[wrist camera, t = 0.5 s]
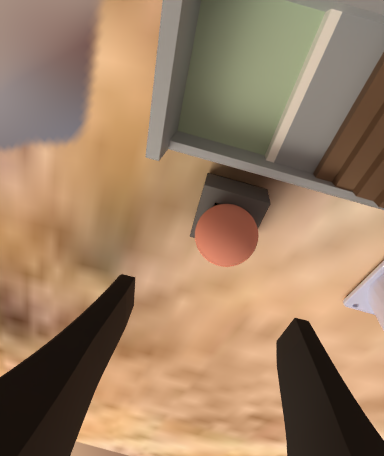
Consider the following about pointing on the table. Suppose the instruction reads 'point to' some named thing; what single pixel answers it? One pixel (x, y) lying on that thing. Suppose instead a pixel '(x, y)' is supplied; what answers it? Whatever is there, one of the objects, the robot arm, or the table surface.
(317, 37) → the slate lane
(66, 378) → the robot arm
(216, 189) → the square tube segment
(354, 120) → the walnut step ramp
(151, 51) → the table surface
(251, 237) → the brick-red rubber ball
